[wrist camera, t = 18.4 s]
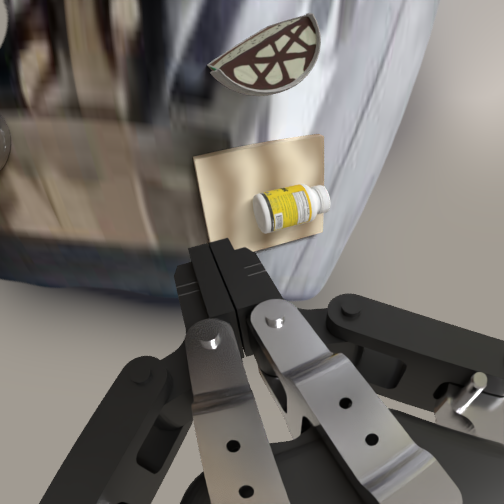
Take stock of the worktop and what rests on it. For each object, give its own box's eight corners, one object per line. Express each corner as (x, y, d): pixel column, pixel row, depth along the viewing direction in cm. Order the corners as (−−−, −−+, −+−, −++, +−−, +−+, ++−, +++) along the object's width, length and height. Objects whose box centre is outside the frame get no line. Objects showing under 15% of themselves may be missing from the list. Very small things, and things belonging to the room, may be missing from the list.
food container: (225, 109, 35) (251, 122, 28) (196, 72, 32) (214, 72, 24) (300, 58, 34) (344, 60, 26) (276, 21, 30) (316, 11, 23)
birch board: (212, 256, 47) (214, 262, 46) (192, 156, 38) (194, 160, 36) (318, 227, 51) (322, 232, 50) (318, 133, 41) (323, 136, 40)
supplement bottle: (249, 200, 43) (310, 187, 45) (259, 237, 43) (321, 221, 45) (256, 188, 38) (325, 174, 40) (269, 230, 38) (337, 212, 40)
